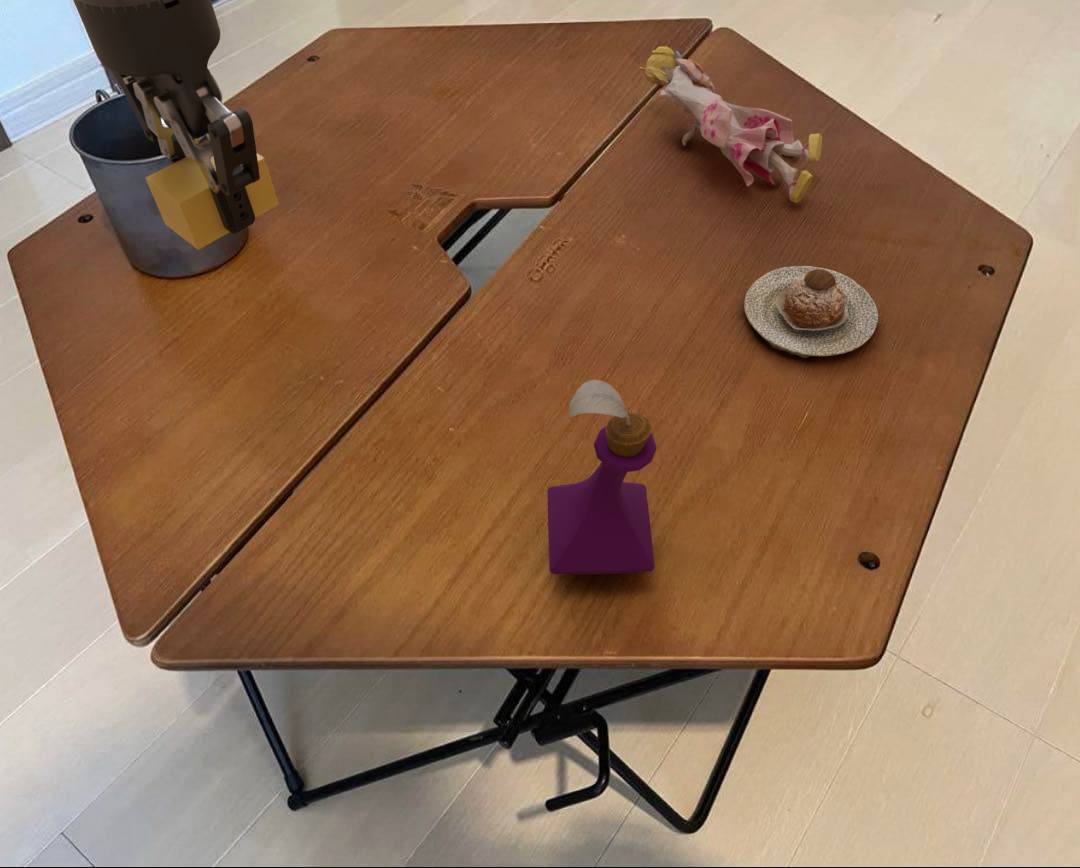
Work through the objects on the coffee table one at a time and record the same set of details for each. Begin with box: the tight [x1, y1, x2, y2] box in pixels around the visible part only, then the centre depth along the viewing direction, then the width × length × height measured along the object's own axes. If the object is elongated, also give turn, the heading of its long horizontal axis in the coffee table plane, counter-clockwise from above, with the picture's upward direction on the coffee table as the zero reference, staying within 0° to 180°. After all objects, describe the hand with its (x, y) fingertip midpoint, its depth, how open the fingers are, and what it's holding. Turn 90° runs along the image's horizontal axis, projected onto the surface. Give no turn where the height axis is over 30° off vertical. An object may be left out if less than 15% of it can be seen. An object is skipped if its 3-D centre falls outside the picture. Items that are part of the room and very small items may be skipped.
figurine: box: [638, 45, 823, 204], centre depth 96 cm, size 12×12×25 cm
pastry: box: [743, 265, 879, 359], centre depth 82 cm, size 12×12×5 cm
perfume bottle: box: [546, 379, 657, 576], centre depth 62 cm, size 8×8×18 cm
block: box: [145, 152, 280, 251], centre depth 65 cm, size 7×4×4 cm, turn 136°
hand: (221, 211), depth 66 cm, fingers closed on block, 4 cm apart
